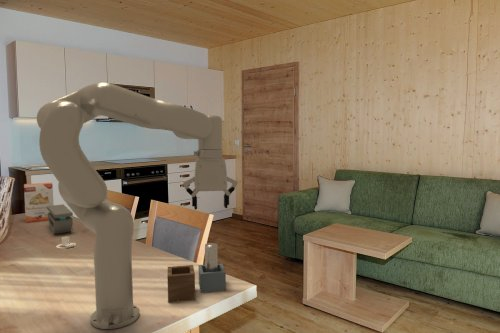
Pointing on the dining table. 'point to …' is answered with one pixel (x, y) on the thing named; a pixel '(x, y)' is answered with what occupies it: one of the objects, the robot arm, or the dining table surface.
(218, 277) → the blue-grey square holder
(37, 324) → the dining table surface
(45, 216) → the cracker box
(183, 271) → the brown wooden socket block
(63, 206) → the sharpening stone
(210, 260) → the steel axle
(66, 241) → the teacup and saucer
